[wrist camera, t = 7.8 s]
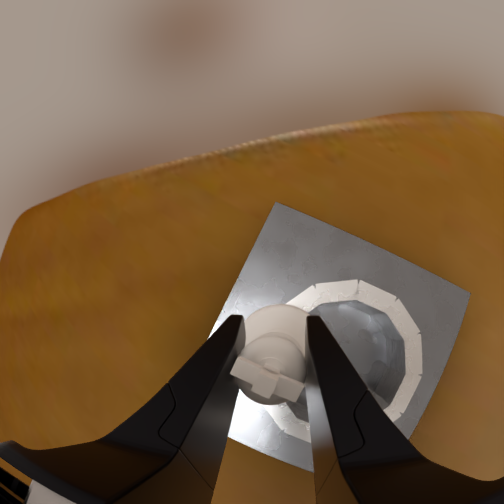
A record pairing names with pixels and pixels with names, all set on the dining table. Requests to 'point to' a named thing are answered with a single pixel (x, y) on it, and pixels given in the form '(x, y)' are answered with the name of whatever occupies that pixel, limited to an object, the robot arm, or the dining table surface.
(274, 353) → the chess piece
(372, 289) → the duct collar
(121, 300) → the dining table surface
